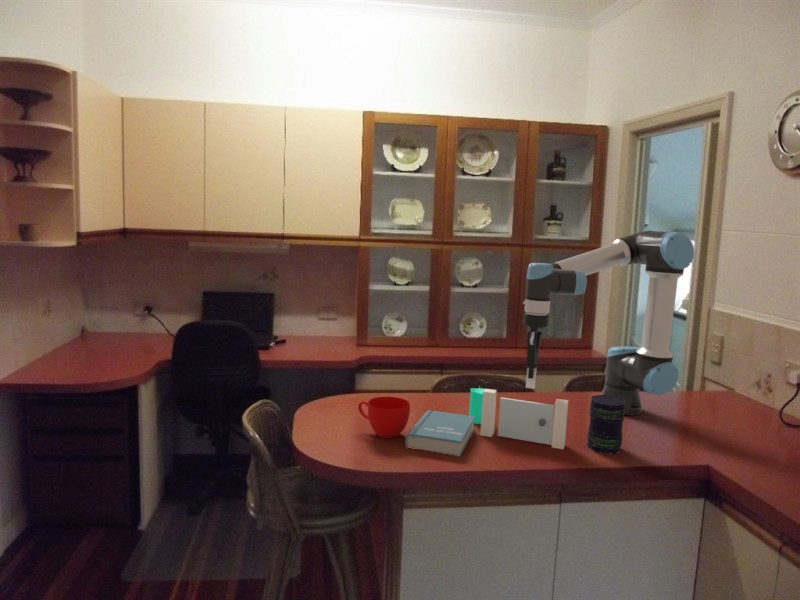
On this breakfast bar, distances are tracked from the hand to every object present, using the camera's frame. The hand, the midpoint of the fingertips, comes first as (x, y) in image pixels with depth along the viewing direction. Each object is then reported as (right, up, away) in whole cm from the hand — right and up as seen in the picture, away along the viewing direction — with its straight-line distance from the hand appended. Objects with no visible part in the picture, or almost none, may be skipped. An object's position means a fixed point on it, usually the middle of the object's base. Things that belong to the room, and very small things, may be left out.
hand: (530, 387), depth 188 cm
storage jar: (+20, -17, -8) cm, 28 cm away
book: (-28, -15, -6) cm, 33 cm away
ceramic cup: (-46, -14, -4) cm, 48 cm away
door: (-3, -15, -6) cm, 17 cm away
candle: (-15, -13, +11) cm, 23 cm away
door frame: (-3, -15, -5) cm, 17 cm away
